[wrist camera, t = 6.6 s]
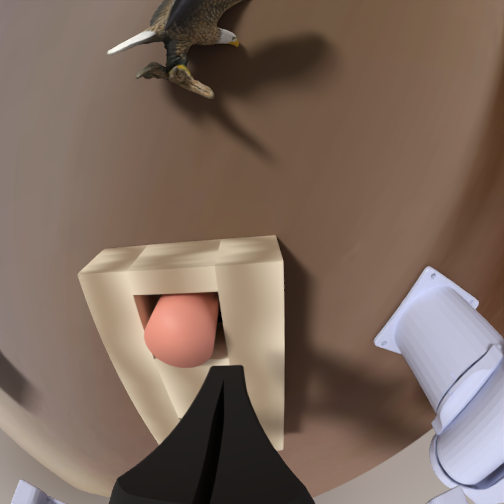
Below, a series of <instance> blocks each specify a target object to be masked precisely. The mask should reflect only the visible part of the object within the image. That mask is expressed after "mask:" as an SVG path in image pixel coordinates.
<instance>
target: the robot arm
mask: <svg viewBox="0 0 504 504" xmlns="http://www.w3.org/2000/svg"><path fill="white" fill-rule="evenodd" d="M432 274H433V275H432ZM431 275H432V277H431ZM478 304H479V302H478V300H477V299H475V298H474V297H473V296H471V295H470V294H469V293H467V292H466V291H465V290H463V289H462V288H461V287H459V286H458V285H456V284H455V283H454V282H452V281H451V280H449V279H448V278H446V277H445V276H444V275H442V274H441V273H439V272H438V271H436V270H435V269H433V268H432V267H430V266H429V267H426V268H425V269H424V271H423V272H422V274H421V275H420V277H419V278H418V280H417V281H416V283H415V284H414V286H413V287H412V289H411V290H410V292H409V293H408V295H407V296H406V298H405V299H404V300H403V302H402V303H401V305H400V306H399V307H398V309H397V310H396V311H395V313H394V314H393V316H392V317H391V318H390V320H389V321H388V322H387V323H386V325H385V326H384V327H383V329H382V330H381V331H380V332H379V334H378V335H377V336H376V337H375V339H374V344H375V345H376V346H378V347H381V348H384V349H387V350H390V351H393V352H396V353H399V354H402V355H403V356H404V358H405V360H406V362H407V363H408V365H409V367H410V368H411V370H412V372H413V373H414V375H415V377H416V379H417V380H418V382H419V384H420V386H421V388H422V389H423V391H424V393H425V395H426V397H427V398H428V400H429V402H430V404H431V406H432V408H433V409H434V411H435V413H436V415H437V416H436V418H435V419H434V421H433V422H432V423H431V424H432V426H433V428H434V430H435V432H436V434H435V435H434V437H433V439H432V441H431V444H430V450H429V454H430V462H431V465H432V468H433V470H434V472H435V474H436V475H437V477H438V478H439V479H440V481H441V482H442V483H444V484H445V485H446V486H448V487H449V488H451V489H450V490H448V491H446V492H444V493H442V494H440V495H438V496H436V497H434V498H432V499H431V500H429V501H428V502H427V503H426V504H468V502H467V500H466V497H465V494H466V495H467V496H468V497H469V498H470V499H471V500H472V501H473V502H474V503H475V504H497V503H504V338H503V337H502V336H501V335H500V334H499V333H498V332H497V331H496V330H495V329H494V328H493V327H492V326H491V325H490V324H489V323H488V322H487V321H486V320H485V319H484V318H483V317H482V316H481V315H480V314H479V313H478V312H477V311H476V310H475V309H476V308H477V306H478ZM382 342H383V343H382ZM11 504H65V503H63V502H61V501H59V500H56V499H54V498H52V497H50V496H48V495H47V494H45V492H43V491H42V490H40V489H38V488H37V487H35V486H33V485H31V484H29V483H28V482H26V481H24V480H22V479H20V481H19V483H18V486H17V489H16V491H15V494H14V496H13V499H12V502H11ZM109 504H315V502H314V500H313V499H312V497H311V495H310V494H309V492H308V491H307V489H306V487H305V486H304V485H303V483H302V482H301V481H300V480H299V479H298V478H297V477H296V476H295V475H294V473H293V472H292V471H291V470H290V469H289V467H288V466H287V465H286V464H285V462H284V461H283V460H282V458H281V457H280V455H279V454H278V452H277V451H276V450H275V448H274V447H273V445H272V443H271V442H270V440H269V438H268V437H267V435H266V433H265V431H264V430H263V428H262V426H261V424H260V422H259V420H258V418H257V415H256V413H255V411H254V409H253V406H252V403H251V401H250V398H249V395H248V392H247V387H246V380H245V373H244V367H243V366H242V365H223V366H211V367H210V369H209V372H208V374H207V376H206V378H205V380H204V382H203V384H202V386H201V388H200V390H199V392H198V394H197V395H196V397H195V399H194V401H193V402H192V404H191V406H190V407H189V409H188V410H187V412H186V413H185V414H184V416H183V417H182V419H181V420H180V422H179V423H178V424H177V426H176V427H175V428H174V429H173V430H172V432H171V433H170V434H169V435H168V436H167V437H166V438H165V440H164V441H163V442H162V443H161V444H160V445H159V446H158V447H157V448H156V449H155V450H154V451H153V452H152V453H150V454H149V455H148V456H147V457H146V458H145V459H143V460H142V461H141V462H140V463H139V464H137V465H136V466H135V467H133V468H132V469H130V470H129V471H127V472H126V473H125V474H123V475H122V476H120V477H118V478H117V481H116V483H115V485H114V487H113V490H112V494H111V498H110V501H109Z"/></svg>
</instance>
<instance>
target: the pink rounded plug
mask: <svg viewBox="0 0 504 504" xmlns="http://www.w3.org/2000/svg"><path fill="white" fill-rule="evenodd" d="M219 305H220V301H219V296H218V293H217V291H216V292H198V293H176V294H161V296H160V298H159V300H158V303H157V305H156V307H155V309H154V311H153V313H152V315H151V317H150V319H149V322H148V324H147V326H146V328H145V331H144V340H145V343H146V345H147V347H148V349H149V350H150V352H151V353H152V354H153V355H154V356H155V357H156V358H157V359H159V360H160V361H162V362H164V363H166V364H168V365H171V366H174V367H179V368H192V367H197V366H199V365H202V364H204V363H205V362H206V361H207V360H208V359H209V358H210V357H211V355H212V353H213V349H214V341H215V334H216V327H217V320H218V313H219Z"/></svg>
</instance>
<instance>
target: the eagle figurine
mask: <svg viewBox="0 0 504 504" xmlns="http://www.w3.org/2000/svg"><path fill="white" fill-rule="evenodd" d="M241 1H243V0H164V1H163V2H162V4H161V5H160V6H159V7H158V9H157V10H156V11H155V14H154V15H153V18H152V19H151V21H150V23H151V24H150V26H151V27H150V28H148V29H147V30H145V31H143V32H142V33H140V34H138V35H136V36H134V37H133V38H131V39H129V40H127V41H125V42H123V43H121V44H120V45H118V46H116V47H114V48H113V49H111V50H109V51H108V52H107V54H109V55H115V54H117V53H119V52H122V51H125V50H128V49H130V48H132V47H134V46H136V45H140V44H148V43H152V42H160V41H163V43H164V44H165V46H164V47H165V49H167V55H166V56H167V62H166V67H164V66H162V65H160V64H158V63H156V62H151V63H150V64H149V65H148V66H147V67H145V68H144V69H142V70H141V71H139V72H138V73H137V75H136V79H139V78H140V77H142V76H143V77H144V78H146V79H150V78H152V77H155V78H157V79H159V78H163V79H168V80H169V81H170V82H171V83H173V82H174V83H176V84H177V85H179V86H181V87H183V88H185V89H187V90H190V91H192V92H195V93H198V94H200V95H202V96H203V97H206V98H209V99H213V98H214V93H213V91H212V90H211V88H209V87H207V86H206V85H204V84H201V83H200V82H199V81H195V80H194V79H193V76H192V75H191V74H190V71H189V70H188V69H187V67H186V66H187V62H188V59H187V56H186V54H187V52H188V50H189V48H190V46H191V45H192V44H195V45H212V44H220V43H224V44H232V45H234V46H236V47H238V46H239V42H238V40H237V39H236V35H235V34H233V33H232V32H230V31H227V30H224V29H221V28H219V27H217V22H218V20H219V19H220V17H221V16H222V14H223V13H224V12H225V11H226V10H227V9H228V8H230V7H231V6H233V5H235V4H237V3H239V2H241Z"/></svg>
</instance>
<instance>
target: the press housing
mask: <svg viewBox="0 0 504 504" xmlns="http://www.w3.org/2000/svg"><path fill="white" fill-rule="evenodd" d="M78 277H79V280H80V283H81V286H82V289H83V292H84V295H85V298H86V301H87V303H88V306H89V309H90V311H91V314H92V317H93V319H94V322H95V324H96V327H97V329H98V331H99V334H100V336H101V339H102V341H103V343H104V345H105V348H106V350H107V352H108V354H109V356H110V359H111V361H112V363H113V365H114V367H115V369H116V371H117V373H118V375H119V377H120V379H121V381H122V383H123V385H124V387H125V389H126V390H127V392H128V394H129V396H130V398H131V400H132V401H133V403H134V405H135V407H136V408H137V410H138V412H139V414H140V415H141V417H142V419H143V420H144V422H145V424H146V425H147V427H148V428H149V430H150V432H151V433H152V435H153V436H154V438H155V439H156V441H157V442H158V444H159V445H160V444H161V443H162V442H163V441H164V440H165V438H166V437H167V436H168V435H169V434H170V433H171V432H172V430H173V429H174V428H175V427H176V426H177V424H178V423H179V422H180V420H181V419H182V417H183V416H184V414H185V413H186V412H187V410H188V409H189V407H190V406H191V404H192V402H193V401H194V399H195V397H196V395H197V394H198V392H199V390H200V388H201V386H202V384H203V382H204V380H205V378H206V376H207V374H208V372H209V369H210V367H211V366H223V365H242V366H243V367H244V373H245V380H246V387H247V392H248V395H249V398H250V401H251V403H252V406H253V409H254V411H255V413H256V415H257V418H258V420H259V422H260V424H261V426H262V428H263V430H264V431H265V433H266V435H267V437H268V438H269V440H270V442H271V443H272V445H273V447H274V448H275V450H276V451H277V450H283V434H284V366H285V342H284V270H283V259H282V255H281V252H280V248H279V245H278V241H277V238H276V235H273V236H258V237H244V238H230V239H217V240H204V241H191V242H179V243H167V244H155V245H143V246H132V247H120V248H109V249H104V250H103V251H102V252H101V253H99V254H98V255H97V256H96V257H95V258H94V259H93V260H92V261H91V262H90V263H89V264H88V265H87V266H86V267H84V268H83V269H82V270H81V271H80V272H79V273H78ZM216 291H218V294H219V301H220V307H221V314H222V320H223V322H221V323H217V327H216V334H215V341H214V349H213V353H212V355H211V357H210V358H209V359H208V360H207V361H206V362H205V363H204V364H202V365H199V366H197V367H192V368H179V367H174V366H171V365H168V364H166V363H164V362H162V361H160V360H159V359H157V358H156V357H155V356H154V355H153V354H152V353H151V352H150V350H149V349H148V347H147V345H146V343H145V340H144V331H145V328H146V326H147V324H148V322H149V319H150V317H151V315H152V313H153V311H154V309H155V307H156V305H157V303H158V300H159V298H160V296H159V294H176V293H198V292H216Z"/></svg>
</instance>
